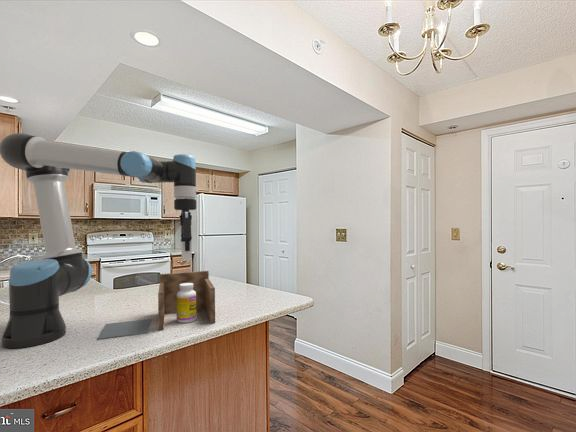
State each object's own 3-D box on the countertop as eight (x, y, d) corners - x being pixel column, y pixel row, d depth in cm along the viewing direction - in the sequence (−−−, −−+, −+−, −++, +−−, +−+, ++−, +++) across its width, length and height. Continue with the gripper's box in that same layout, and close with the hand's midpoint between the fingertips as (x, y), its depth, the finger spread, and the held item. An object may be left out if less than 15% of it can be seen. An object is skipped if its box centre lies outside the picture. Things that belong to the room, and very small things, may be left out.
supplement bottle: (190, 324, 105) (190, 286, 105) (172, 323, 106) (172, 285, 106) (199, 317, 111) (199, 282, 112) (183, 316, 113) (182, 281, 113)
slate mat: (96, 340, 92) (97, 338, 92) (106, 325, 105) (106, 323, 105) (148, 333, 97) (148, 331, 97) (150, 319, 110) (150, 318, 110)
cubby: (158, 330, 99) (158, 284, 99) (160, 313, 117) (159, 274, 117) (215, 323, 106) (214, 279, 106) (208, 307, 124) (208, 270, 124)
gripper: (199, 196, 99) (200, 262, 99) (193, 201, 122) (194, 254, 122) (174, 196, 96) (175, 263, 96) (173, 200, 119) (174, 255, 119)
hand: (186, 258), depth 109 cm, fingers open, 13 cm apart
